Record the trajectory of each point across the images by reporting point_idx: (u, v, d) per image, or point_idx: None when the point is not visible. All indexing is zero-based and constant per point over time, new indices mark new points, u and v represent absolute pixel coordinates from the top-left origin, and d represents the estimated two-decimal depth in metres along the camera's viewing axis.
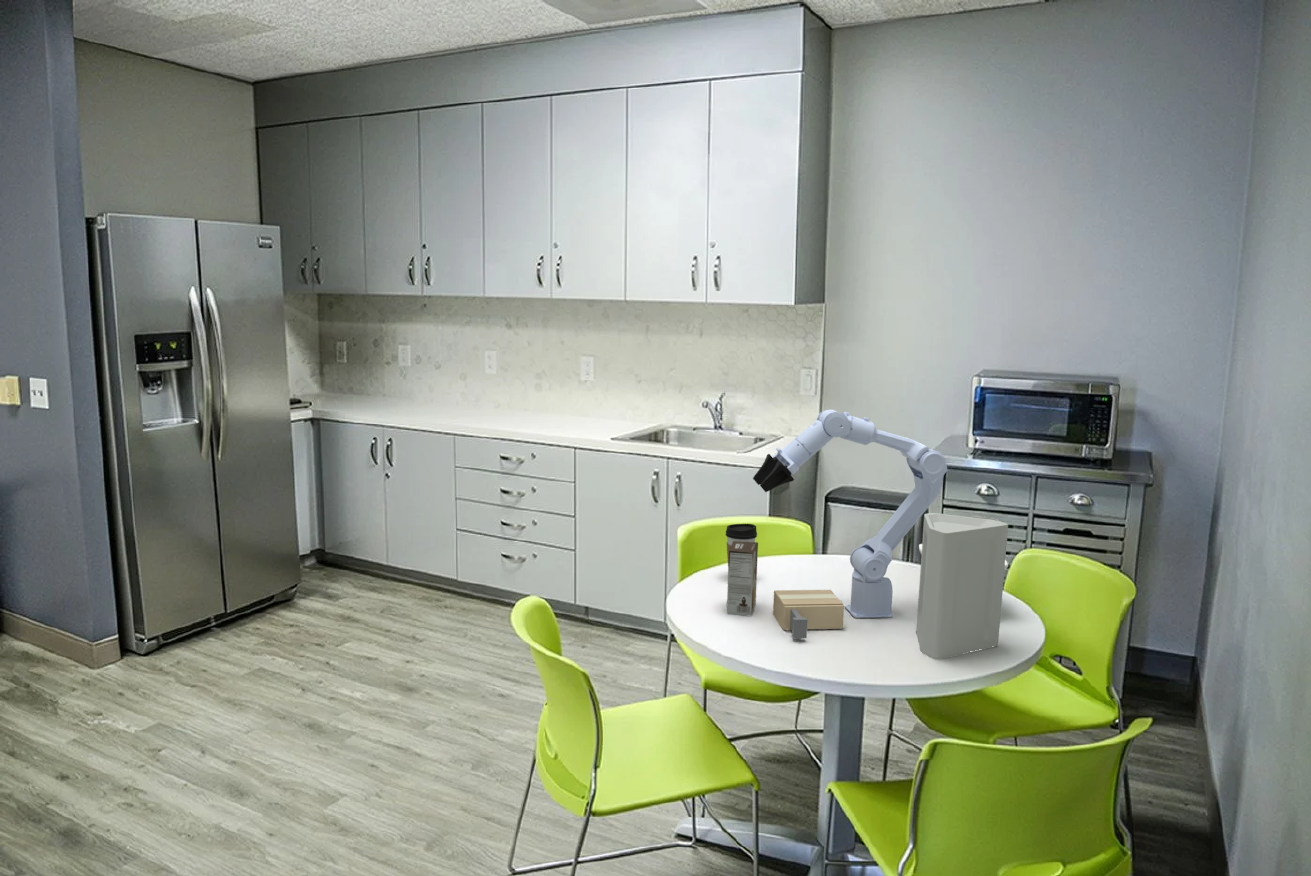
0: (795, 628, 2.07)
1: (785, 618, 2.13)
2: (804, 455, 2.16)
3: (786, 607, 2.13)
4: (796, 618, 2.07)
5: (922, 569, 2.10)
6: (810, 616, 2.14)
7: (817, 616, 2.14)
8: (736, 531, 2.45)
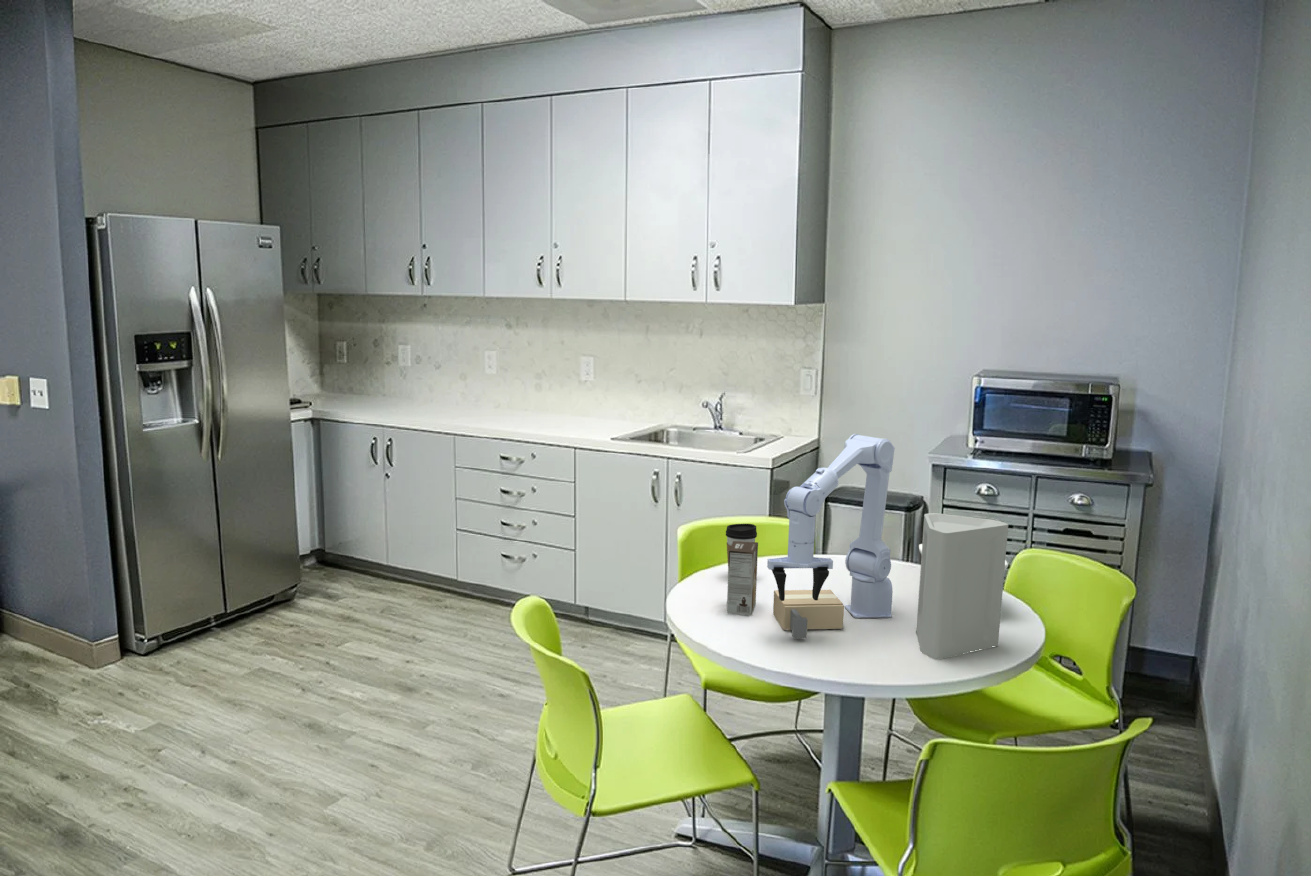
0: (795, 628, 2.07)
1: (785, 618, 2.13)
2: None
3: (786, 607, 2.13)
4: (796, 618, 2.07)
5: (922, 569, 2.10)
6: (810, 616, 2.14)
7: (817, 616, 2.14)
8: (736, 531, 2.45)
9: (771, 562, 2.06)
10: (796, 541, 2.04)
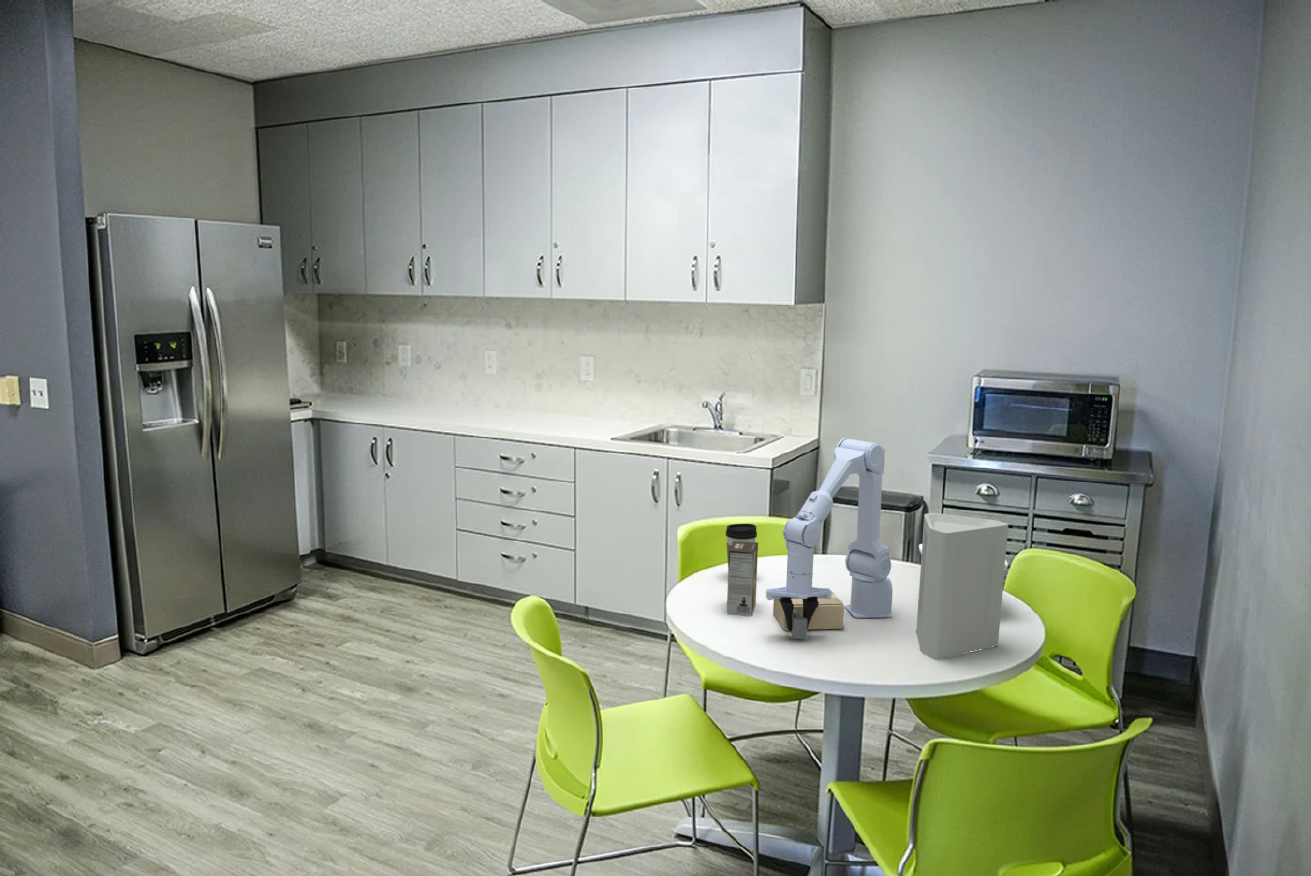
0: (795, 628, 2.07)
1: (785, 618, 2.13)
2: None
3: None
4: (796, 618, 2.07)
5: (922, 569, 2.10)
6: None
7: (817, 616, 2.14)
8: (736, 531, 2.45)
9: (770, 593, 2.07)
10: (795, 572, 2.05)
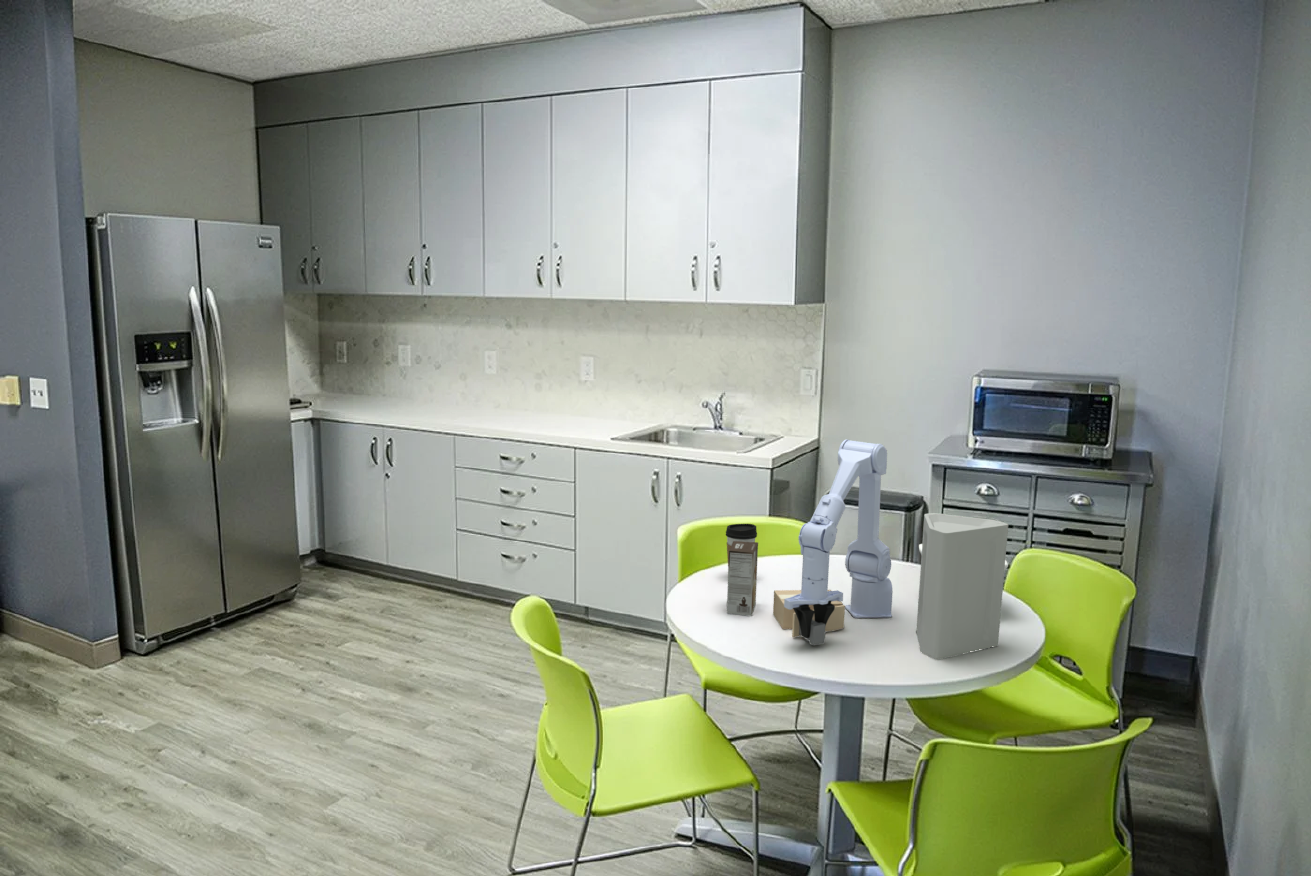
0: (815, 635, 2.03)
1: (795, 625, 2.09)
2: None
3: (795, 614, 2.09)
4: (814, 624, 2.04)
5: (922, 569, 2.10)
6: None
7: None
8: (736, 531, 2.45)
9: (791, 602, 2.01)
10: (812, 578, 2.01)
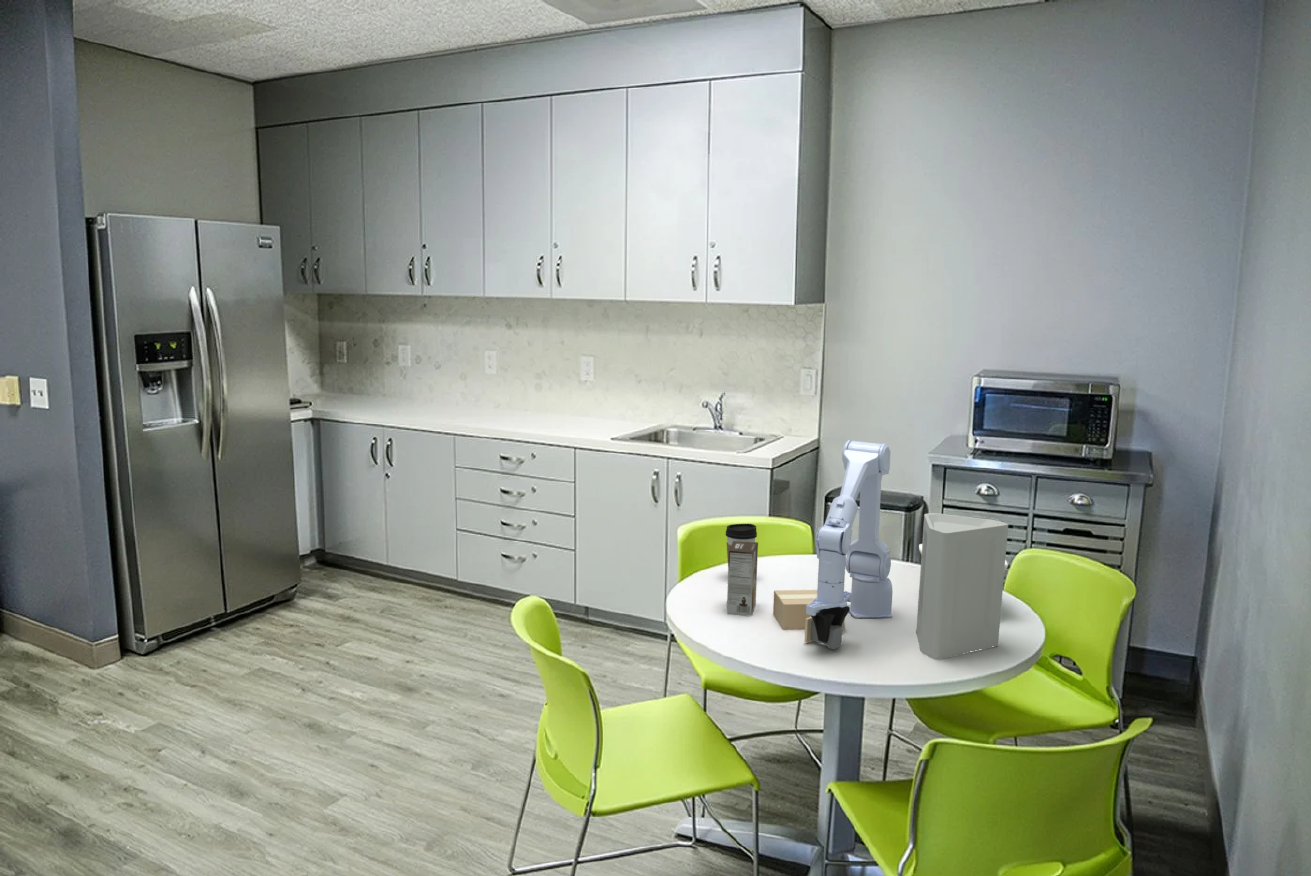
0: (834, 639, 2.01)
1: (807, 631, 2.06)
2: None
3: (808, 619, 2.05)
4: (833, 628, 2.02)
5: (922, 569, 2.10)
6: None
7: None
8: (736, 531, 2.45)
9: (815, 608, 1.97)
10: (830, 581, 1.99)
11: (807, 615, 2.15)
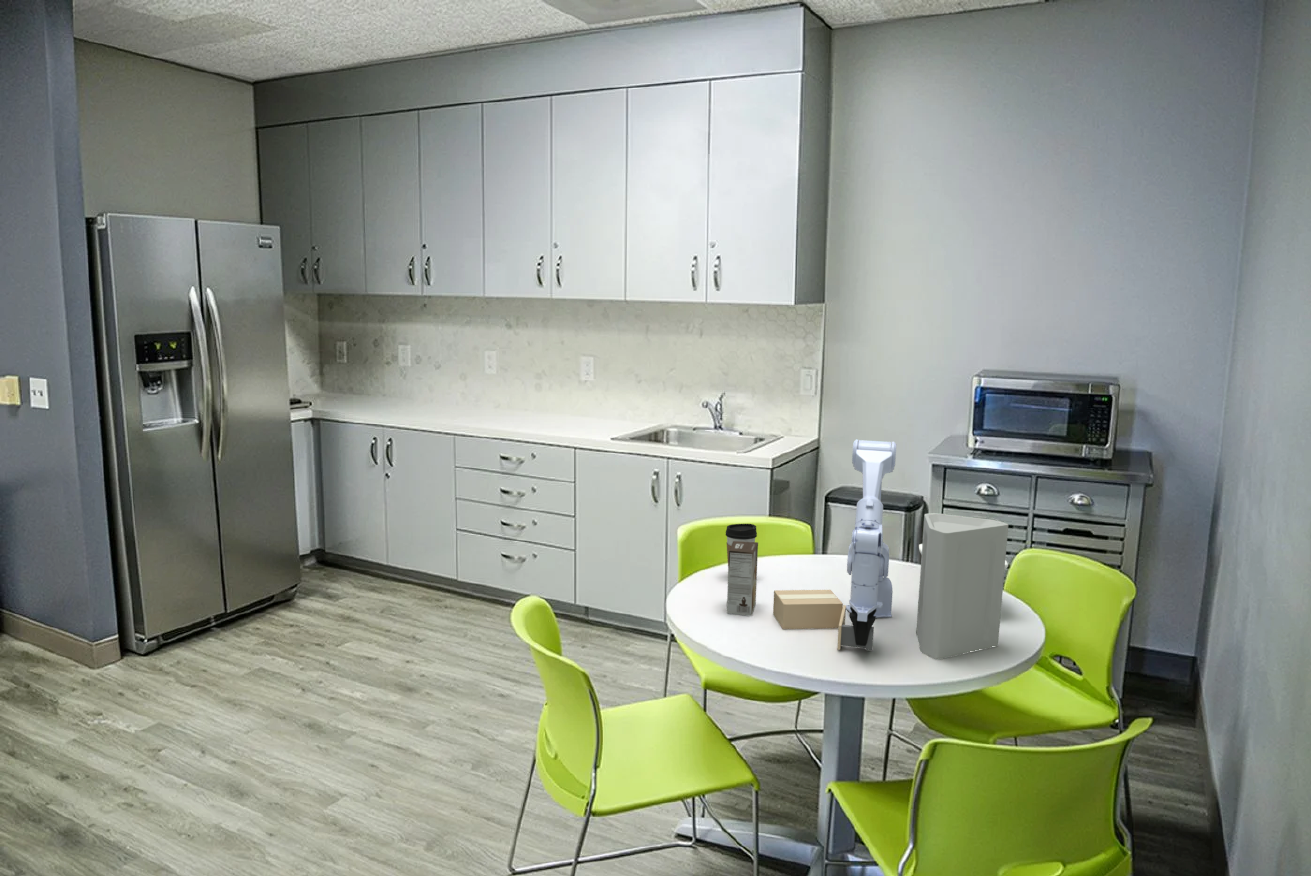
0: (872, 640, 2.01)
1: (840, 637, 2.02)
2: None
3: (841, 626, 2.02)
4: None
5: (922, 569, 2.10)
6: None
7: (843, 624, 2.09)
8: (736, 531, 2.45)
9: (867, 613, 1.95)
10: (868, 584, 1.98)
11: (807, 615, 2.15)
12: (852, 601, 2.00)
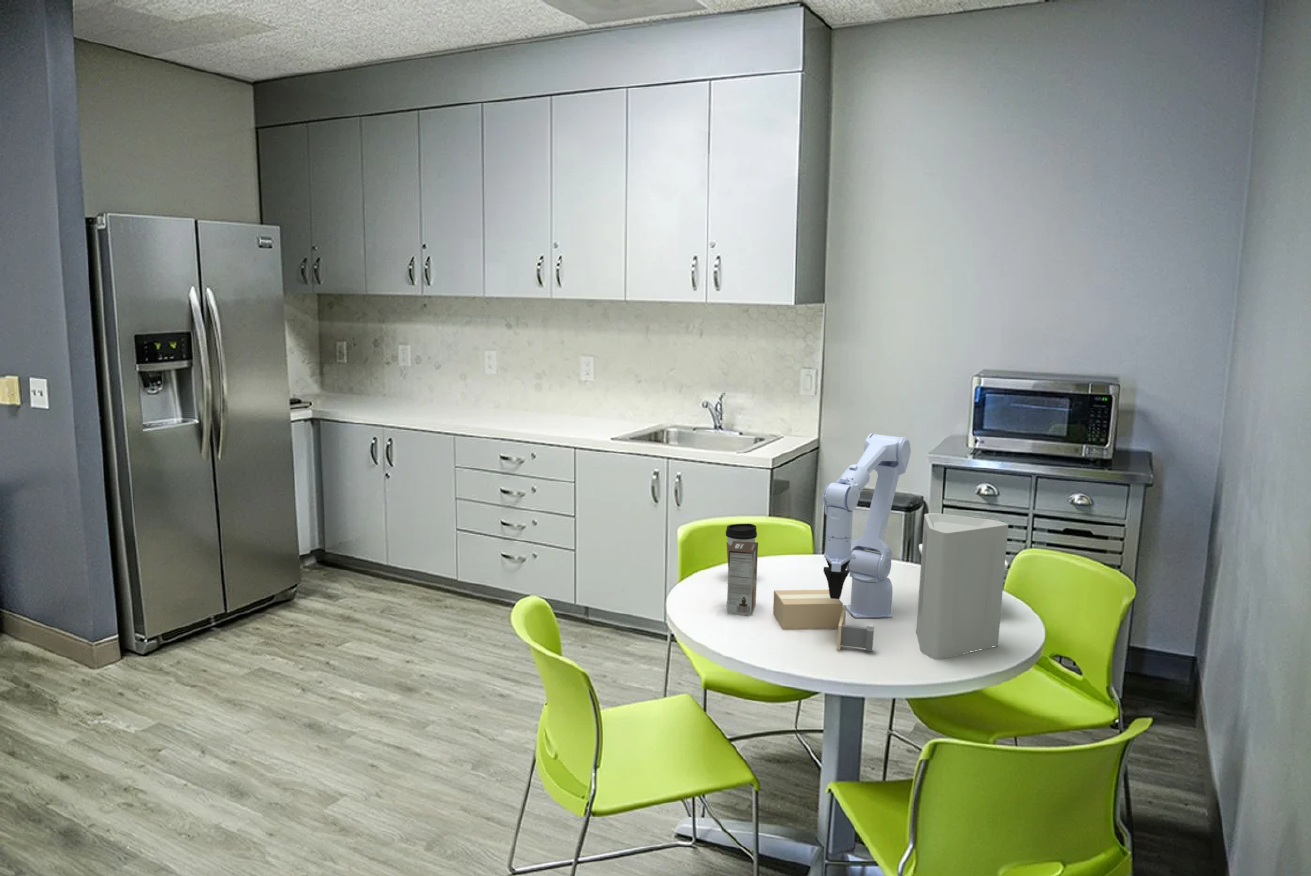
0: (872, 640, 2.01)
1: (840, 637, 2.02)
2: None
3: (841, 626, 2.02)
4: (869, 629, 2.01)
5: (922, 569, 2.10)
6: None
7: (843, 624, 2.09)
8: (736, 531, 2.45)
9: (841, 564, 2.04)
10: (836, 536, 2.08)
11: (807, 615, 2.15)
12: (827, 553, 2.10)
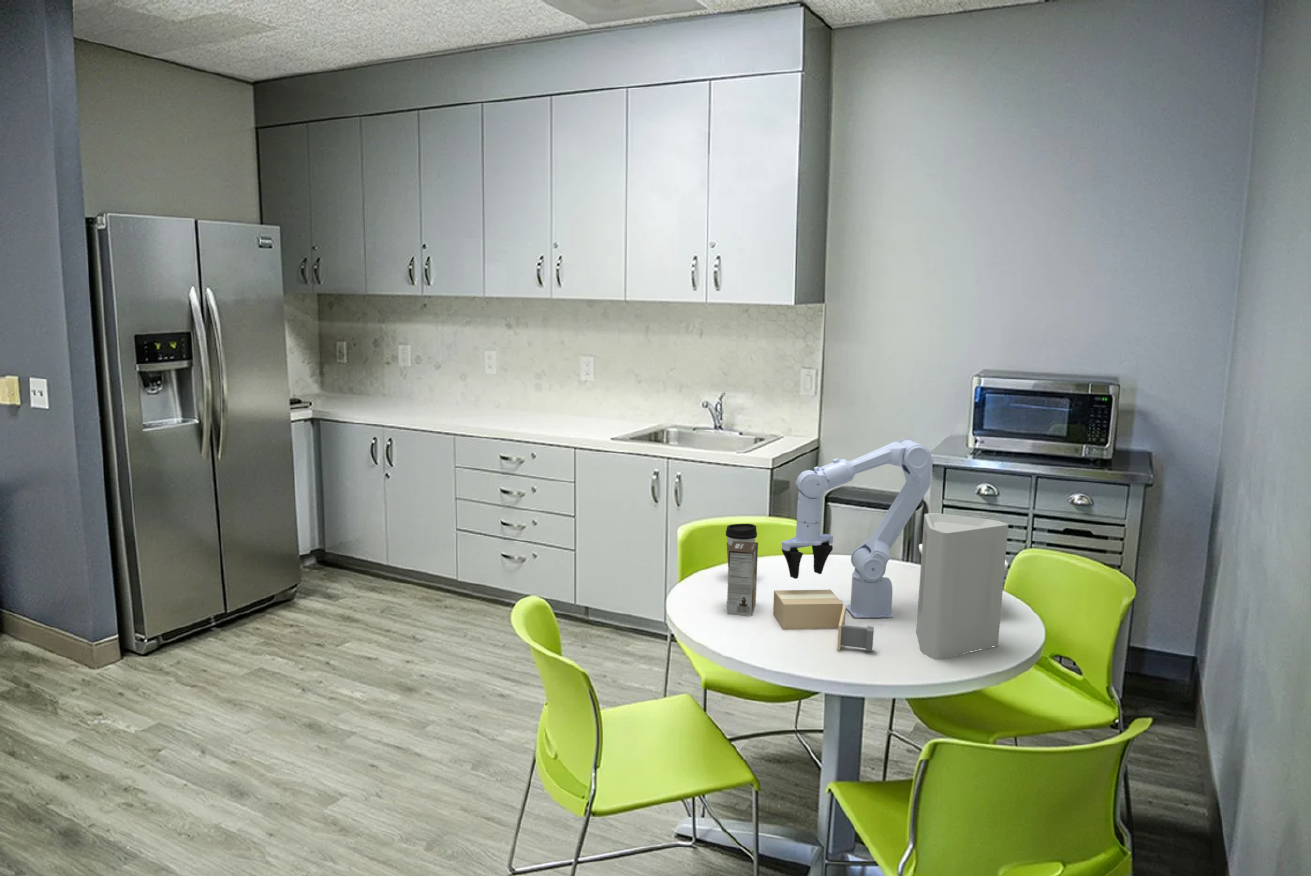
0: (872, 640, 2.01)
1: (840, 637, 2.02)
2: None
3: (841, 626, 2.02)
4: (869, 629, 2.01)
5: (922, 569, 2.10)
6: None
7: (843, 624, 2.09)
8: (736, 531, 2.45)
9: (788, 544, 2.19)
10: (798, 519, 2.22)
11: (807, 615, 2.15)
12: None
